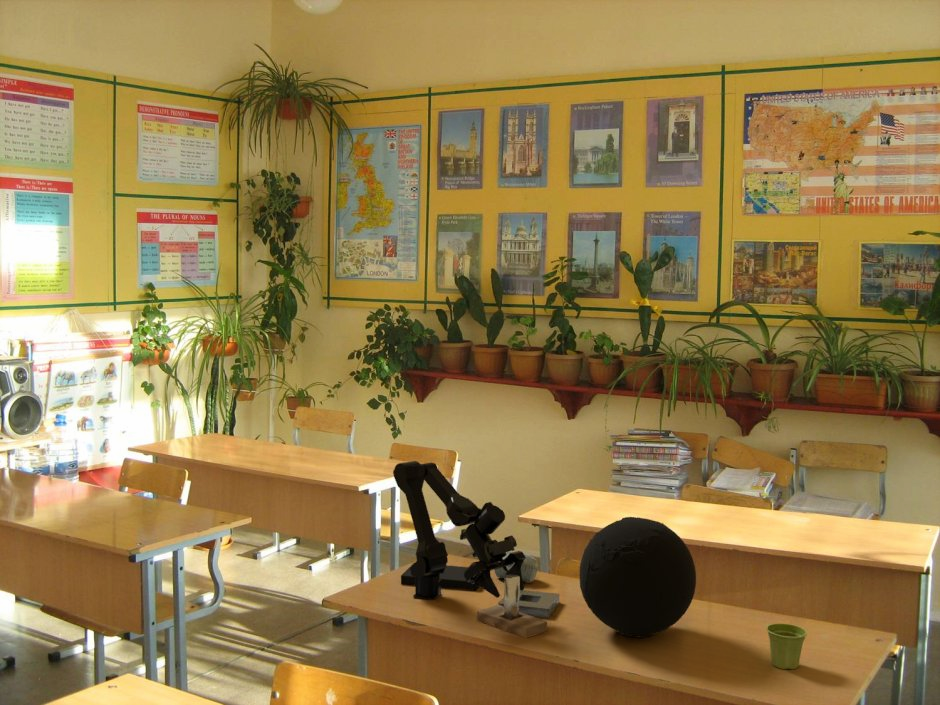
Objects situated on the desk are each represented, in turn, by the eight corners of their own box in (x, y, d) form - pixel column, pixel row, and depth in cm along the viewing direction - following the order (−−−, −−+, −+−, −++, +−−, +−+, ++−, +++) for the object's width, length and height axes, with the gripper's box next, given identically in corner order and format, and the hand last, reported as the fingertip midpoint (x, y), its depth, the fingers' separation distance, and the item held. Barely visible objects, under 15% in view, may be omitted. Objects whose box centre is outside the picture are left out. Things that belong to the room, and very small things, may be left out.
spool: (484, 569, 310) (499, 539, 311) (496, 576, 317) (511, 547, 319) (520, 588, 302) (535, 558, 304) (532, 595, 310) (547, 565, 312)
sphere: (697, 621, 276) (701, 511, 274) (690, 660, 247) (694, 538, 245) (588, 609, 284) (590, 502, 282) (569, 646, 255) (572, 527, 253)
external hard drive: (414, 572, 319) (414, 562, 318) (487, 578, 313) (487, 568, 313) (400, 585, 305) (400, 575, 304) (476, 592, 300) (477, 581, 299)
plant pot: (812, 665, 246) (813, 629, 245) (795, 676, 239) (796, 639, 238) (775, 654, 252) (776, 620, 251) (757, 665, 245) (759, 629, 244)
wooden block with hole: (476, 620, 274) (476, 610, 274) (497, 613, 279) (497, 604, 279) (525, 637, 261) (526, 628, 261) (546, 630, 266) (547, 621, 266)
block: (498, 612, 280) (498, 603, 280) (511, 597, 294) (511, 588, 294) (548, 617, 276) (548, 608, 276) (559, 602, 290) (559, 593, 290)
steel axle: (501, 626, 269) (502, 578, 268) (505, 622, 273) (506, 574, 272) (516, 628, 268) (517, 579, 267) (520, 623, 271) (521, 575, 270)
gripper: (472, 532, 266) (502, 583, 259) (521, 521, 279) (551, 569, 272) (451, 556, 272) (479, 607, 265) (500, 544, 285) (528, 592, 278)
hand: (510, 593), depth 270 cm, fingers open, 9 cm apart
